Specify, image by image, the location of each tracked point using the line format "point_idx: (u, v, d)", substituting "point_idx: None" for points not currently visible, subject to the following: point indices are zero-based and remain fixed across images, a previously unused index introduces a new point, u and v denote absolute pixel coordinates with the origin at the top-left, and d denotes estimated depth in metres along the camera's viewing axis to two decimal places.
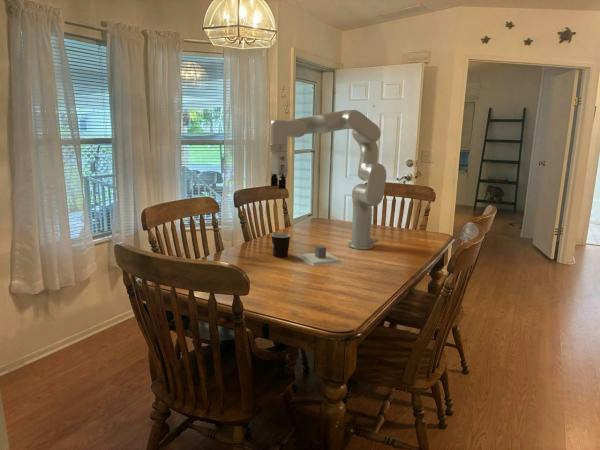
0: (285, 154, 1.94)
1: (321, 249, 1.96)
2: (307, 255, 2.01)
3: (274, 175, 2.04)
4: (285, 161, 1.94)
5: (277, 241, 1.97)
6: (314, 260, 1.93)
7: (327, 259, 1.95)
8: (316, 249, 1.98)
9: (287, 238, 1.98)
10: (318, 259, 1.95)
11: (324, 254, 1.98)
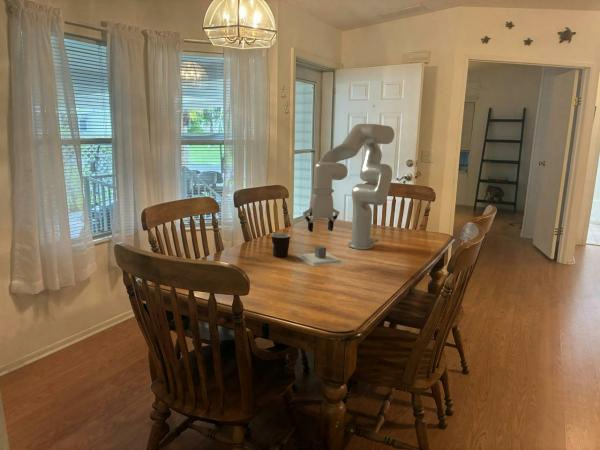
0: None
1: (321, 249, 1.96)
2: (307, 255, 2.01)
3: None
4: None
5: (277, 241, 1.97)
6: (314, 260, 1.93)
7: (327, 259, 1.95)
8: (316, 249, 1.98)
9: (287, 238, 1.98)
10: (318, 259, 1.95)
11: (324, 254, 1.98)
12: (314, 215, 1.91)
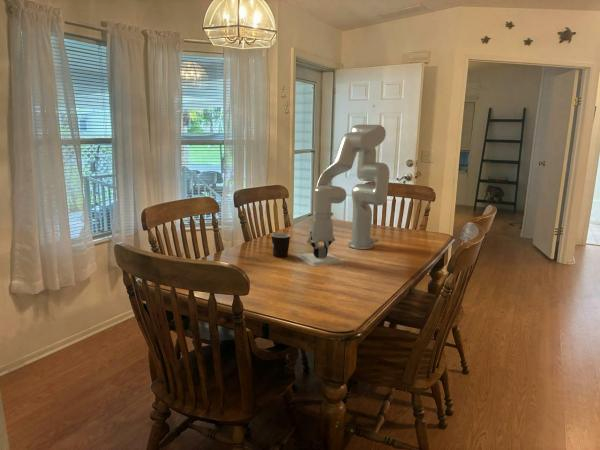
0: None
1: (321, 249, 1.96)
2: (307, 255, 2.01)
3: None
4: None
5: (277, 241, 1.97)
6: (314, 260, 1.93)
7: (327, 259, 1.95)
8: None
9: (287, 238, 1.98)
10: (318, 259, 1.95)
11: (324, 254, 1.98)
12: (314, 239, 1.94)
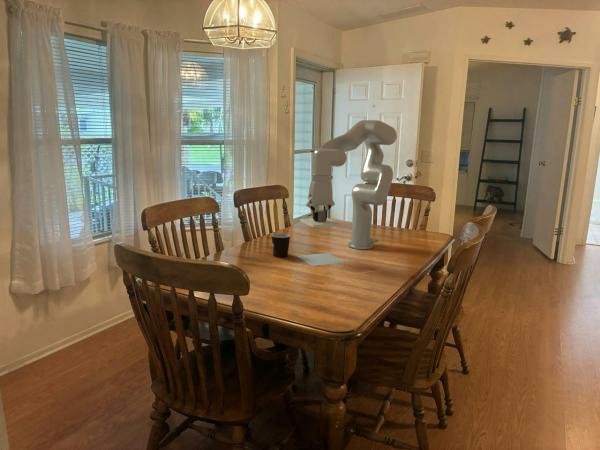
0: None
1: (321, 213, 1.93)
2: (307, 219, 1.98)
3: None
4: None
5: (277, 241, 1.97)
6: (314, 223, 1.90)
7: (327, 223, 1.92)
8: None
9: (287, 238, 1.98)
10: (318, 222, 1.92)
11: (324, 218, 1.94)
12: (313, 202, 1.90)
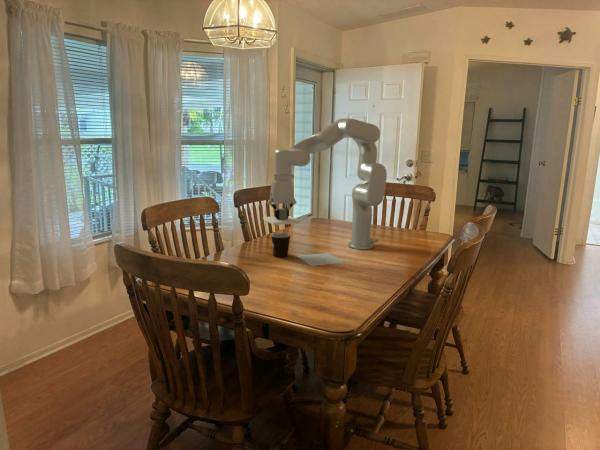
0: None
1: (282, 211, 1.98)
2: (269, 217, 2.03)
3: None
4: None
5: (277, 241, 1.97)
6: (274, 221, 1.95)
7: (288, 220, 1.97)
8: None
9: (287, 238, 1.98)
10: (279, 220, 1.97)
11: (285, 216, 1.99)
12: (274, 200, 1.95)
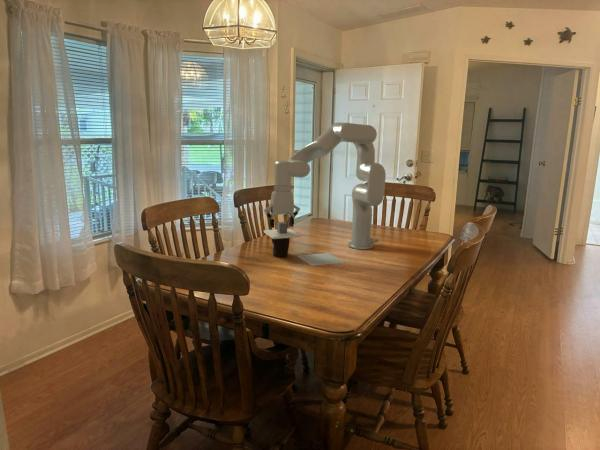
0: None
1: (282, 224, 1.99)
2: (270, 230, 2.04)
3: None
4: None
5: (277, 241, 1.97)
6: (274, 235, 1.97)
7: (288, 234, 1.99)
8: (277, 224, 2.01)
9: (287, 238, 1.98)
10: (279, 234, 1.98)
11: (285, 229, 2.01)
12: (274, 211, 1.97)
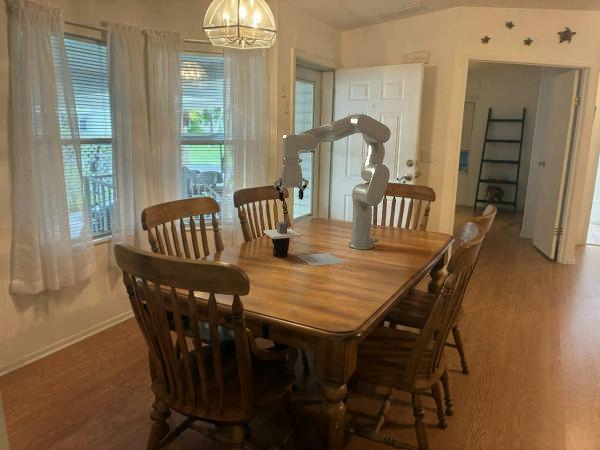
0: None
1: (282, 224, 1.99)
2: (269, 230, 2.04)
3: None
4: None
5: (277, 241, 1.97)
6: (274, 235, 1.97)
7: (288, 234, 1.99)
8: (277, 225, 2.01)
9: (287, 238, 1.98)
10: (279, 234, 1.98)
11: (285, 229, 2.01)
12: (284, 185, 1.99)
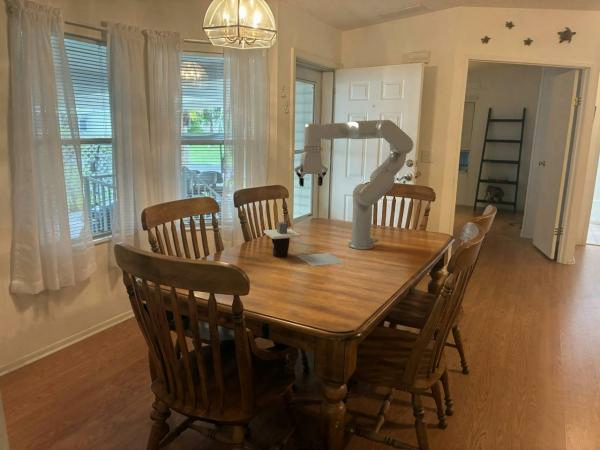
0: None
1: (282, 224, 1.99)
2: (270, 230, 2.04)
3: None
4: None
5: (277, 241, 1.97)
6: (274, 235, 1.97)
7: (288, 234, 1.99)
8: (277, 225, 2.01)
9: (287, 238, 1.98)
10: (279, 234, 1.98)
11: (285, 229, 2.01)
12: (304, 171, 2.10)
